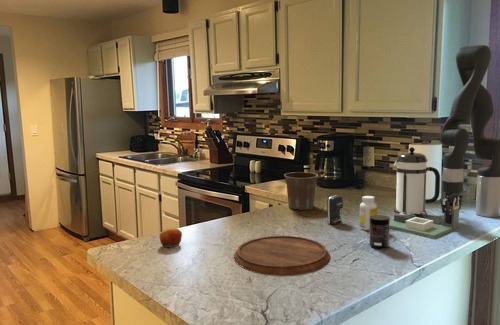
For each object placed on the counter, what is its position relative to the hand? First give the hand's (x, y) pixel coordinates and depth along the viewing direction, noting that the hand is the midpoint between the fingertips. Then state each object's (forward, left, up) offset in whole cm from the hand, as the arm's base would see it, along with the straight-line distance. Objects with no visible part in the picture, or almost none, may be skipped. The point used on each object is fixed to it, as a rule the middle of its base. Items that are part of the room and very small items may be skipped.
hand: (451, 222), depth 168 cm
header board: (+10, -9, -2) cm, 14 cm away
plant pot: (+17, -65, -3) cm, 67 cm away
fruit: (+91, -59, -3) cm, 109 cm away
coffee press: (-9, -21, -2) cm, 23 cm away
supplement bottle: (+23, -22, -3) cm, 32 cm away
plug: (0, 0, -2) cm, 2 cm away
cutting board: (+69, -24, -3) cm, 74 cm away
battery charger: (+26, -36, -3) cm, 45 cm away
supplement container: (+38, -7, -3) cm, 39 cm away
